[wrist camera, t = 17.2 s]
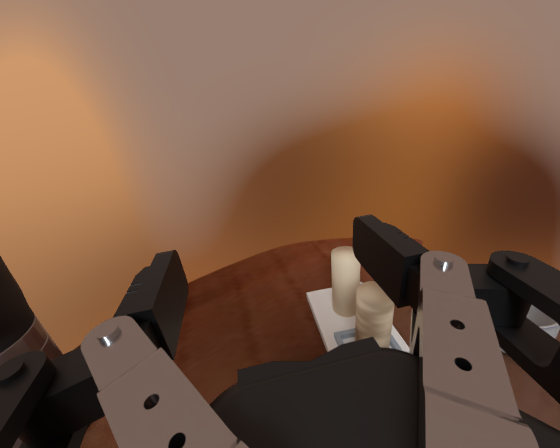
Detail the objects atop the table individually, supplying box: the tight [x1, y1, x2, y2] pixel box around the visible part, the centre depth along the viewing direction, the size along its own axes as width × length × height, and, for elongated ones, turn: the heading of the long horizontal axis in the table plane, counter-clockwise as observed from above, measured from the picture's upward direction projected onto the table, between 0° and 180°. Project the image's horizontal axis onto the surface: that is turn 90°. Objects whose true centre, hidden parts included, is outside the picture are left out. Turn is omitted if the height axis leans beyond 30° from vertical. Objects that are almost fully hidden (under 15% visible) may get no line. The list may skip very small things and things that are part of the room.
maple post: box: [355, 281, 394, 348], centre depth 36 cm, size 5×5×12 cm
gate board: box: [307, 246, 410, 353], centre depth 41 cm, size 22×12×14 cm, turn 9°
